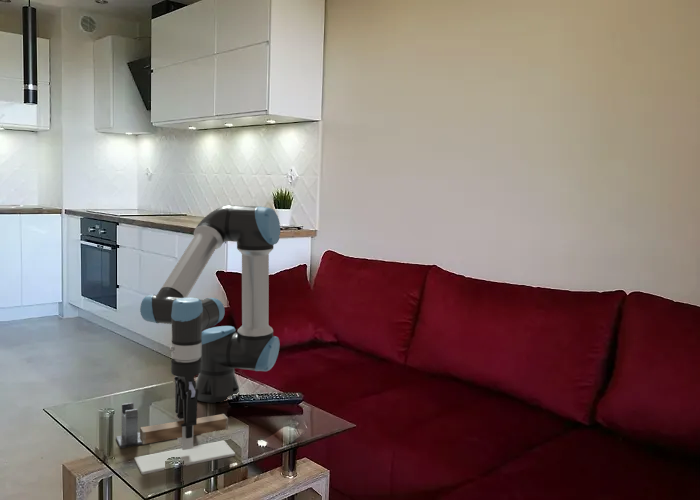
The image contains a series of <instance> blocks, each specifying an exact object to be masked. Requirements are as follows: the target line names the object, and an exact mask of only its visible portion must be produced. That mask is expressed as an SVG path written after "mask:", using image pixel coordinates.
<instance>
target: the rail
mask: <svg viewBox="0 0 700 500" xmlns="http://www.w3.org/2000/svg"><path fill="white" fill-rule="evenodd" d="M183 423H184V420H183V421H178V420H177V421H170V422H166V423H160V424H154V425H147V426H139V432H140V440H141V441H142V443H143V444H142V445H147V444H152V442H153V443H158V442H163V441H168V440H174V439H178V438H181V437H182V427H181V424H183ZM225 430H226V431H227V430H229V418H228V416H226V414H225V413H221V414H216V415H209V416H203V417H198V418H197V423H196V425H194V426H193V436H196V435H202V434H210V433H213V432H219V431H225Z"/></svg>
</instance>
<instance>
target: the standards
mask: <svg viewBox="0 0 700 500" xmlns="http://www.w3.org/2000/svg"><path fill="white" fill-rule="evenodd" d="M134 404H135V403H134V402H126V403H121V435H117V436H115V441H116V442H117V445H118V446H120V447H119V448H120V449H123V448H124V449H125V448H130V447H135V446H140V445H141V446H142V445H144V444H143V443H142V441H141V440H140V431H138V428H139V427H138V425H139V420H138V417H139V416H138V415H139V414H138V410H139V409H138V408H135V407H134V406H135V405H134ZM152 443H153V444H154V442H152ZM152 443H151V444H152Z"/></svg>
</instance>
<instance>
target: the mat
mask: <svg viewBox="0 0 700 500" xmlns="http://www.w3.org/2000/svg"><path fill="white" fill-rule="evenodd" d="M234 456H236V452H235V451H234V450H233V449H232V448H231V447H230V445H228V443H227V442H226V441H225V440H224V439H223V440H219V441H218V440H217V441H213V442H208V443H201V444H198V445H193V448H192V449H186V450H182V447H181V448H177V449H170V450H166V451H161V452H155V453H151V454H146V455H140V456H134V461H135V464H136V465H137V468H138V470H139V471H140V473H141V475H147V474H152V473H157V472H161V471H165V470H164V469H165V461H166V460H167V459H168V458H171V457H180V458H182V459H184V461H185V463H186V464H187V465H186V466H191V465H195V464H201V463H205V462H209V461H215V460H219V459H225V458H228V457H234Z"/></svg>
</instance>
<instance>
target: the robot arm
mask: <svg viewBox="0 0 700 500" xmlns="http://www.w3.org/2000/svg"><path fill="white" fill-rule="evenodd" d="M280 235H281V223H280V220H279V216H278V214H277V213H276V211H275V210H274V209H273V208H271V207H266V206H262V205H261V206H260V205H235V204H228V205H224V206H220V207H217V208H215V209H214V210H213V211H211V212H210V213H208V214H207V215H205V216H204V218H202V219H201V221H200V222H199V223H198V224H197V226H196V227H195V228H194V230H193V238H192V239H191V241H190V243H189V244H188V246H187V248H186V249H185V251H184V252H183V254H182V255H181V256H180V258H179V260H178V262H177V263H176V265H175V266H174V268H173V269H172V270H171V273H170V274H169V276H168V277H167V278H166V280H165V282H164V283H163V285H162V287H161V288H160V290H159V291H158V292H157V294H147V295H146V296H145V297H143V299H142V300H141V303H140V307H139V308H140V309H139V310H140V311H139V312H140V315H141V317H142V319H143V320H144V321H145V322H150V323H154V324H166V325H171V346H170V347H169V351H171V358H172V359H171V363H170V366H171V368H170V369H171V370H170V373H171V374H172V375H173V376H174V385H175V388H174V389H175V394H174V395H175V396H174V397H175V405H174V407H175V410H174V412H175V414H176V417H177V421H183V420H184V423H183V424H181V427H182V437H181V438H177V444H178V445H179V444H181V448H182V450H186V449H192V448H193V446H194V435H193V426H194V425H196V423H197V417H198V415H197V414H198V401H199V402H202V403H209V404H210V403H211V404H212V403H213V404H215V403H216V402H220V403H222V402H221V401H224V400H226V399H227V397H228V396H229V395H233V394H237V393H238V392H239V393H240V387H239V383H238V380H237V377H236V373H235V369H240V370H249V371H255V372H268V371H270V370H272V368H273V367H274V366H275V364H276V361H277V359H278V357H279V353H280V352H279V351H280V346H281V345H280V339H279V337H278V336H275V335H274V329H273V327H272V326H270V325H269V314H270V313H269V310H270V309H269V308H270V307H269V305H270V304H269V302H270V301H269V299H270V298H269V297H270V296H269V290H270V289H269V287H270V286H269V285H270V283H269V282H270V281H269V280H270V279H269V278H270V277H269V276H270V272H269V271H270V268H269V267H270V266H269V264H270V263H269V262H270V257H269V256H270V255H269V254H270V253H271V252H272V251H273V250H274V245H276V244H277V243H279V241H280ZM225 242H233V243H234V242H235V243H236V249H237V250H238V251H239V252H240V253H241V324H242V325H241V326H240V327H239V328H237V329H236V328H235V326H232V325H221V326H216V325H218V323H220V322H221V321H222V320H223V319H224V316H225V313H226V312H225V311H226V310H225V307H224V304H223V303H222V301H221V300H219V299H218V298H216V297H207V298H203V299H200V298H197V297H188V296H189V295H190V293H191V291H192V289H193V288H194V286H195V284H196V283H197V281H198V279H199V277H200V276H201V274H202V273H203V271H204V269H205V267H206V266H207V264H208V263H209V261H210V259H211V258H212V256H213V254H214V253H215V251H216V250H218V249H220V248H221V247H222V245H223V244H224V243H225ZM236 330H237V331H236ZM195 376H197V378H196V380H195ZM216 404H217V403H216Z"/></svg>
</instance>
